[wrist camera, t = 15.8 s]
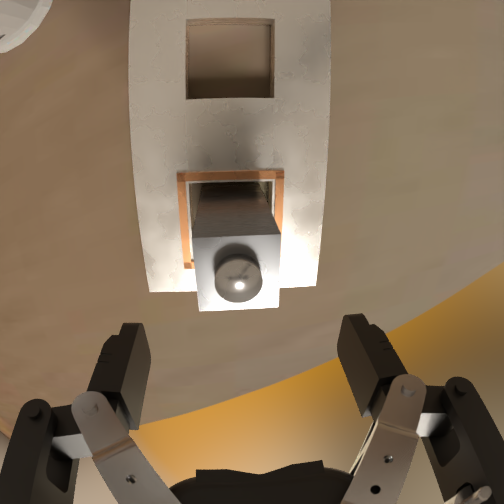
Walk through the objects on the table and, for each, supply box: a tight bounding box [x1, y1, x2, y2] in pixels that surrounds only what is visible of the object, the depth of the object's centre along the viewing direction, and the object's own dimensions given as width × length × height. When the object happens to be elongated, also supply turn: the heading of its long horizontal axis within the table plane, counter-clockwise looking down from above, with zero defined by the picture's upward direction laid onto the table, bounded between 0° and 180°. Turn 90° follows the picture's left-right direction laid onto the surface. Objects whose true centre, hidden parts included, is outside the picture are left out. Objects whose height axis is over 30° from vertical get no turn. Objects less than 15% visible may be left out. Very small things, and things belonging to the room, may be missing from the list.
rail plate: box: [129, 0, 331, 292], centre depth 22 cm, size 24×14×2 cm, turn 0°
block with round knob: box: [192, 184, 281, 311], centre depth 21 cm, size 4×4×11 cm
